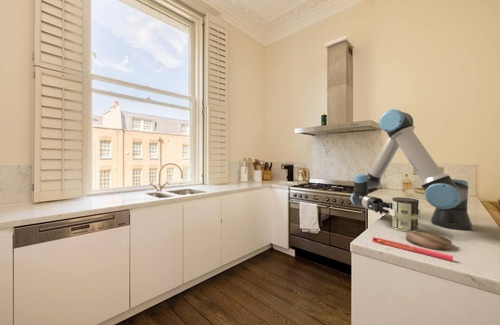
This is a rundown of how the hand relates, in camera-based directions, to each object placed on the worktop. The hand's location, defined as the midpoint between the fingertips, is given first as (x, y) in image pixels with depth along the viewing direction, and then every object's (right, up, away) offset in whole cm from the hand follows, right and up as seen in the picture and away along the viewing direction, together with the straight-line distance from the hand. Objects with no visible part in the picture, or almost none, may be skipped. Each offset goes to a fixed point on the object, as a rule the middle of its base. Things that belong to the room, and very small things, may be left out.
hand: (407, 212), depth 103 cm
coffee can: (0, -8, +2) cm, 8 cm away
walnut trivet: (-3, -8, -16) cm, 18 cm away
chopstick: (-15, -9, -23) cm, 29 cm away
